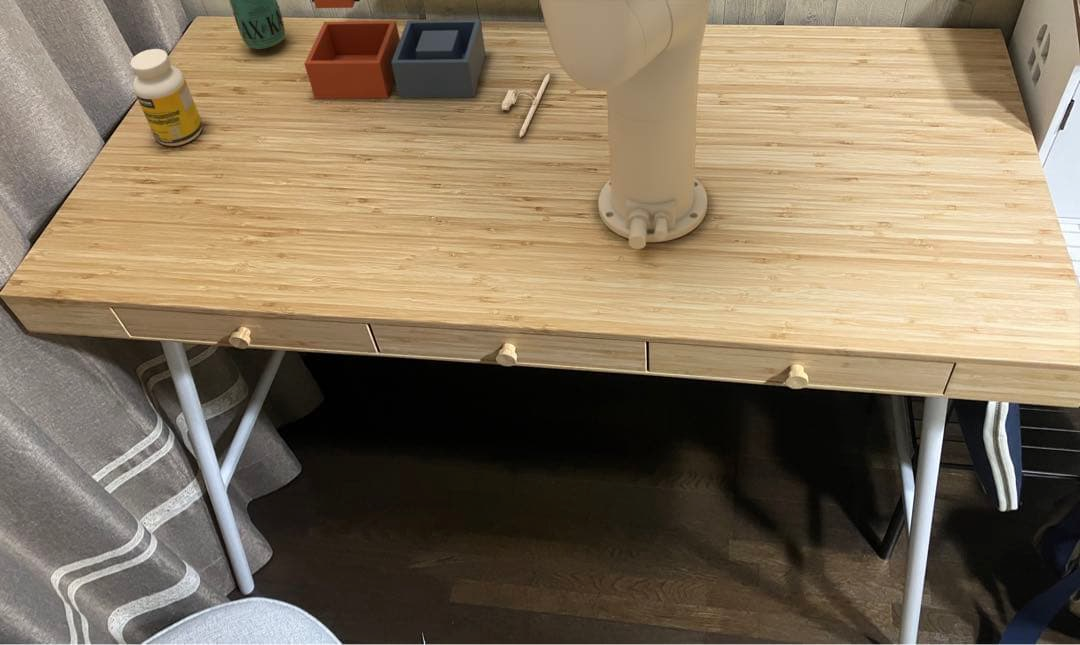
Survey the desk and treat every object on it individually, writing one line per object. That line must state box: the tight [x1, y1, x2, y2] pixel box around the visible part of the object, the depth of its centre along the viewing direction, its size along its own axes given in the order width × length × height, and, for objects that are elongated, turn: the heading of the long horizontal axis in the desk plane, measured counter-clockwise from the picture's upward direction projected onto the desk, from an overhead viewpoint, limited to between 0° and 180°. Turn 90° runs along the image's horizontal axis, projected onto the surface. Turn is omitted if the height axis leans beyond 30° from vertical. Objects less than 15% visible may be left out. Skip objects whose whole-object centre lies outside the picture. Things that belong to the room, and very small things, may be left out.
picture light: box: [501, 73, 551, 138], centre depth 133 cm, size 14×4×2 cm, turn 165°
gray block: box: [416, 30, 463, 60], centre depth 138 cm, size 5×5×5 cm
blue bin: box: [391, 18, 486, 99], centre depth 138 cm, size 10×10×6 cm
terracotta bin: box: [304, 20, 401, 99], centre depth 140 cm, size 10×10×6 cm
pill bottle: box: [130, 48, 203, 147], centre depth 132 cm, size 6×6×12 cm
